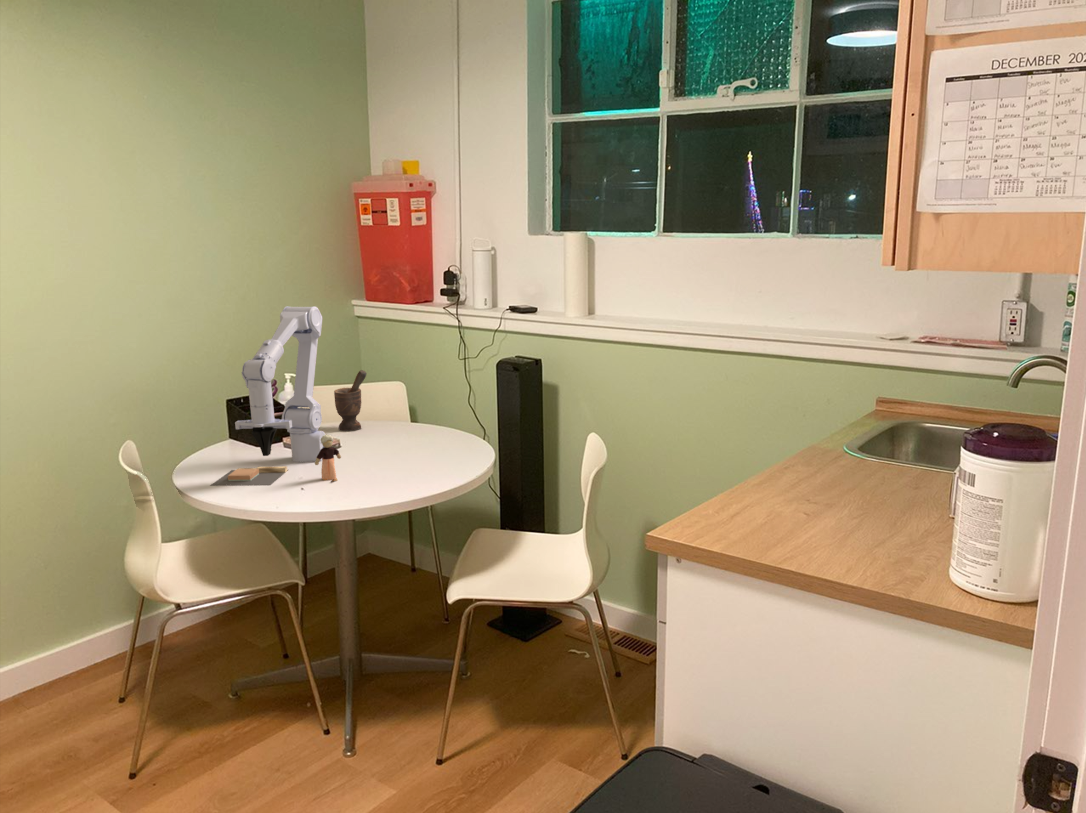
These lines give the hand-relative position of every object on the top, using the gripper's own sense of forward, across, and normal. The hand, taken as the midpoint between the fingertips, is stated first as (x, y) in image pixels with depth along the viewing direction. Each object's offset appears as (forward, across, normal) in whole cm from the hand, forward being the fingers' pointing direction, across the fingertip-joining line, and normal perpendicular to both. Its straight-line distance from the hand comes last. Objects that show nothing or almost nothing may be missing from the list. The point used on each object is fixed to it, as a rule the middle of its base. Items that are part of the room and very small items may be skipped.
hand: (266, 454), depth 230 cm
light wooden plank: (+6, -5, +5) cm, 9 cm away
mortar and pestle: (+8, +8, +56) cm, 57 cm away
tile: (+5, -4, 0) cm, 7 cm away
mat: (+7, -5, 0) cm, 9 cm away
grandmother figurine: (+7, +17, -1) cm, 18 cm away
